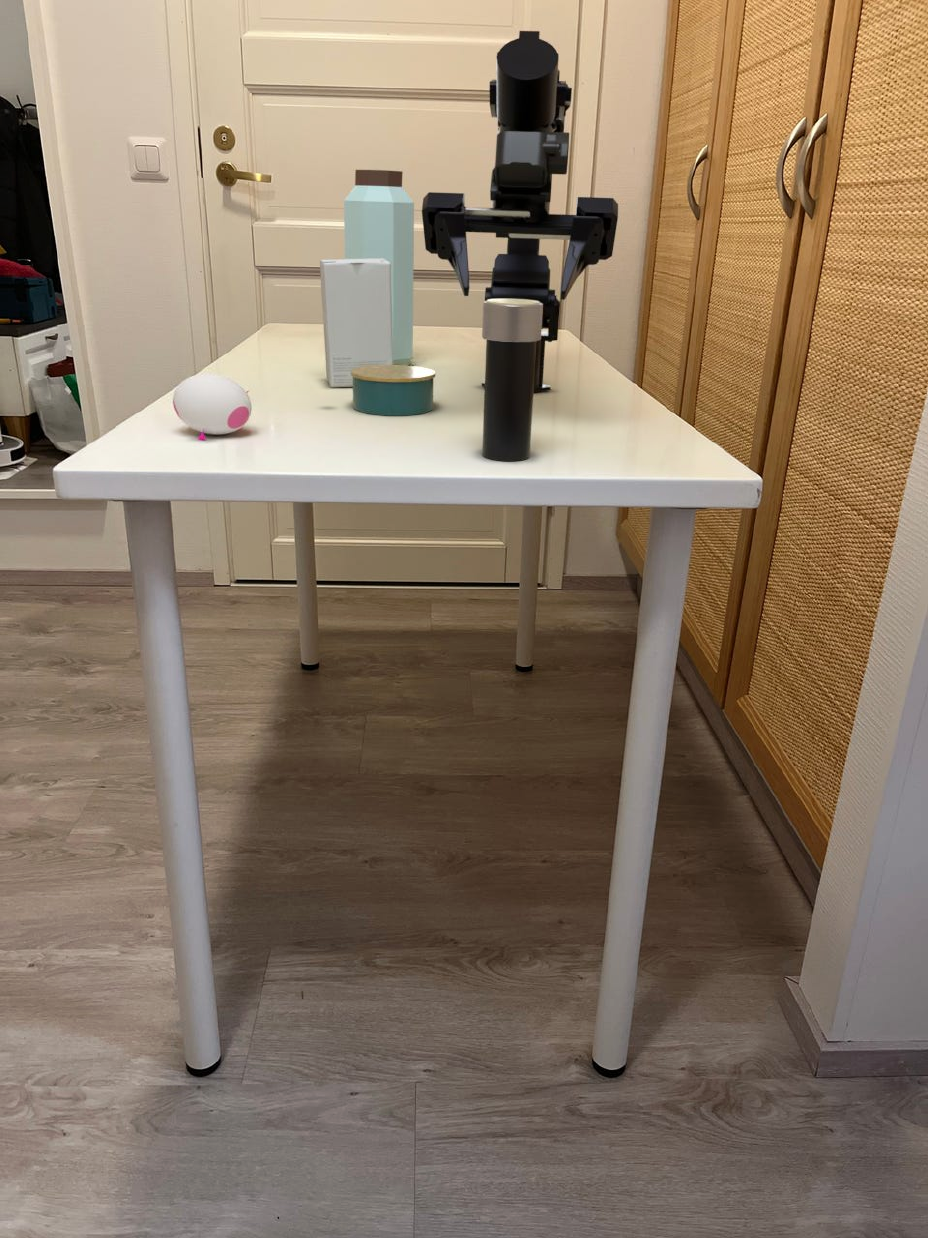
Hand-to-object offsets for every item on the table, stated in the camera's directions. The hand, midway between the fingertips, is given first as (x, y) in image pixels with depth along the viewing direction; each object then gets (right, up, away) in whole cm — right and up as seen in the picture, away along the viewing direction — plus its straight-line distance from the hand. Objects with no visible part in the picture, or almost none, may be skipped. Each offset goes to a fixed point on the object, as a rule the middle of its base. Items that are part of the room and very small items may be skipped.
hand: (514, 294), depth 90 cm
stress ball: (-29, -13, +3) cm, 32 cm away
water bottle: (-17, +6, +46) cm, 49 cm away
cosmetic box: (-18, -1, +30) cm, 36 cm away
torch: (-1, -16, -2) cm, 16 cm away
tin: (-13, -7, +17) cm, 22 cm away
